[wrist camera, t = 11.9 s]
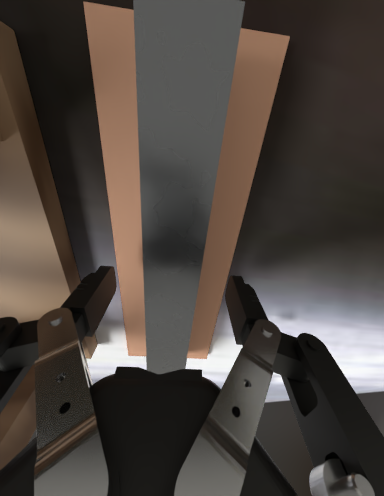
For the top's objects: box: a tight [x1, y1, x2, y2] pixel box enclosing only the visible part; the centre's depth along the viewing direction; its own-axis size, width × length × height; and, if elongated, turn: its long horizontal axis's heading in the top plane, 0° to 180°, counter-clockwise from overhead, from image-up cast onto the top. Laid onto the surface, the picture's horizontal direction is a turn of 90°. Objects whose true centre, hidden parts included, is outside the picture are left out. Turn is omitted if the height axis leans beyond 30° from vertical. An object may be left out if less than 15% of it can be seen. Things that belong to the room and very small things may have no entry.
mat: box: [83, 1, 290, 359], centre depth 14 cm, size 26×9×1 cm, turn 174°
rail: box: [133, 0, 245, 374], centre depth 12 cm, size 24×3×4 cm, turn 174°
